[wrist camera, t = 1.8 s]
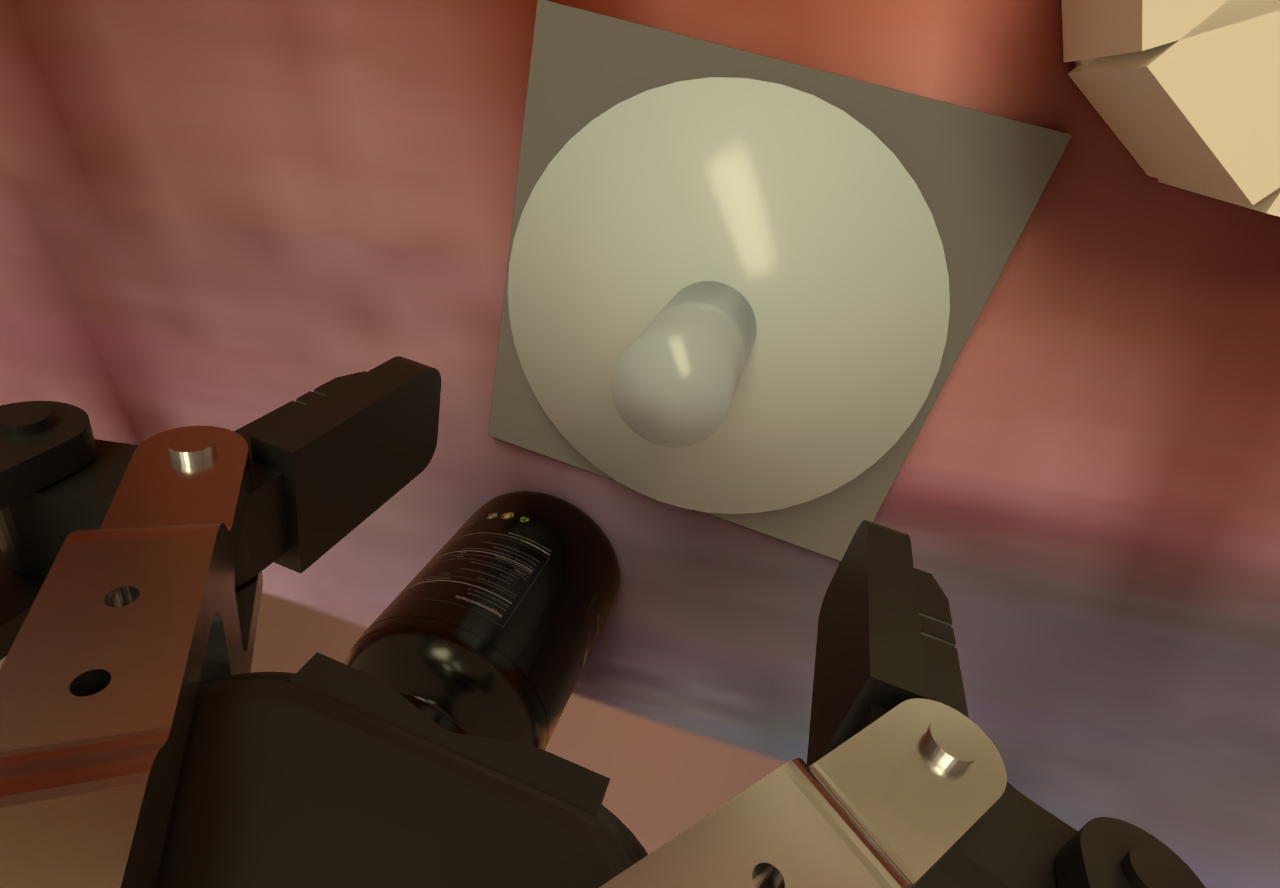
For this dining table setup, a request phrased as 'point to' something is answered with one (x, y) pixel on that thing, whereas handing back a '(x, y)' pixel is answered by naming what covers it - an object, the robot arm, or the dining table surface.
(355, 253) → the dining table surface
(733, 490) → the lid
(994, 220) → the mat
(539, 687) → the supplement bottle
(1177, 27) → the bowl
